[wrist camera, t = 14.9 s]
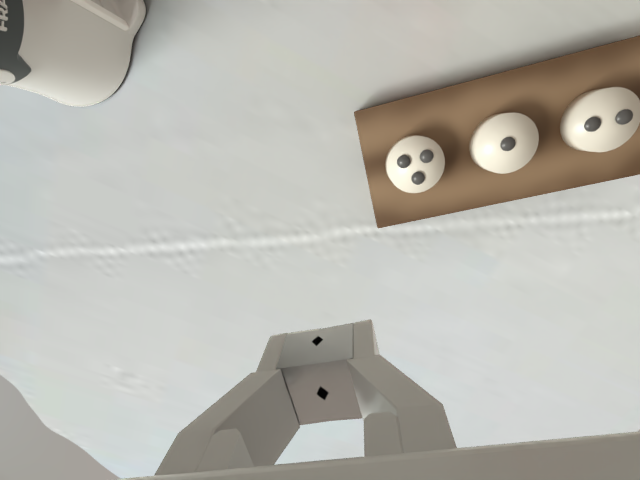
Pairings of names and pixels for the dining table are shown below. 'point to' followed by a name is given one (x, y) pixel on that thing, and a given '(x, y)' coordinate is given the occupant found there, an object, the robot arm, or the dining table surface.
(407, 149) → the button three
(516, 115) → the button one
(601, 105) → the button two
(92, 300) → the dining table surface
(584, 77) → the button board
